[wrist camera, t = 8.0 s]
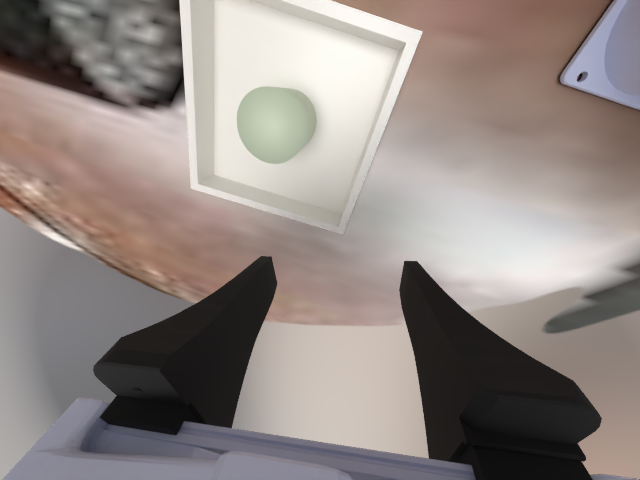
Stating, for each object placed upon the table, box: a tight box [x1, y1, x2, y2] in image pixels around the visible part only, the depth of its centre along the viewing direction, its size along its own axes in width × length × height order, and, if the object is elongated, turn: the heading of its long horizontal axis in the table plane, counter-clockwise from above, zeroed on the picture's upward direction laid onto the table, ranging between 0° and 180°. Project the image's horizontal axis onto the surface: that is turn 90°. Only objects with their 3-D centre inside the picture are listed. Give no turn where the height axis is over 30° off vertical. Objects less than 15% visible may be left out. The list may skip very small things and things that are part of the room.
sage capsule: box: [237, 86, 317, 164], centre depth 15 cm, size 4×4×5 cm
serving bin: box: [180, 0, 422, 235], centre depth 16 cm, size 13×13×3 cm
